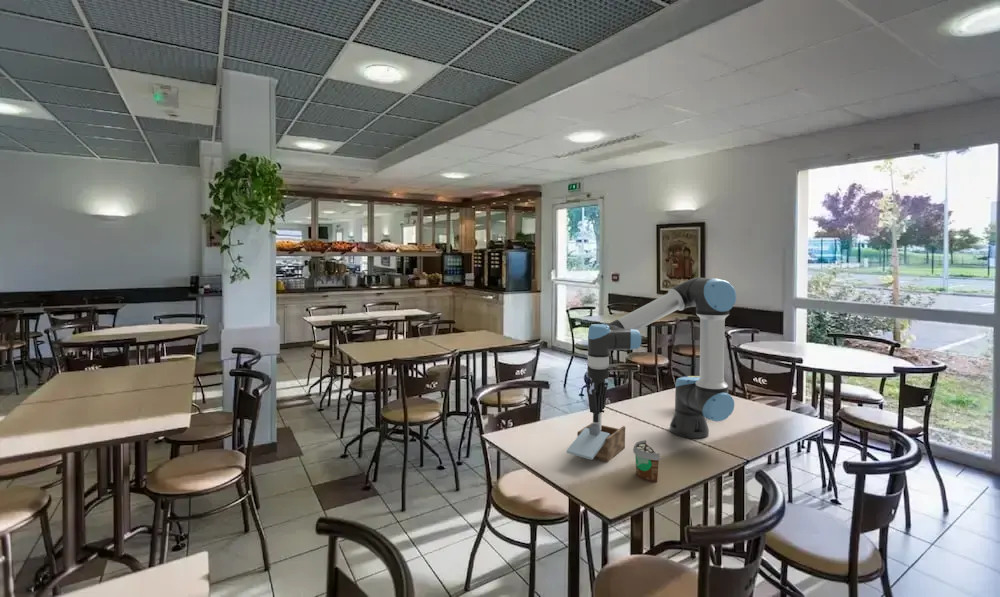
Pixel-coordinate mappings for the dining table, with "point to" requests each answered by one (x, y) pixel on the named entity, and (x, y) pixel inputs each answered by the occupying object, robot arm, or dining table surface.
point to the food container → (646, 462)
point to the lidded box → (610, 442)
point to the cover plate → (588, 442)
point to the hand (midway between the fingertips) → (597, 429)
